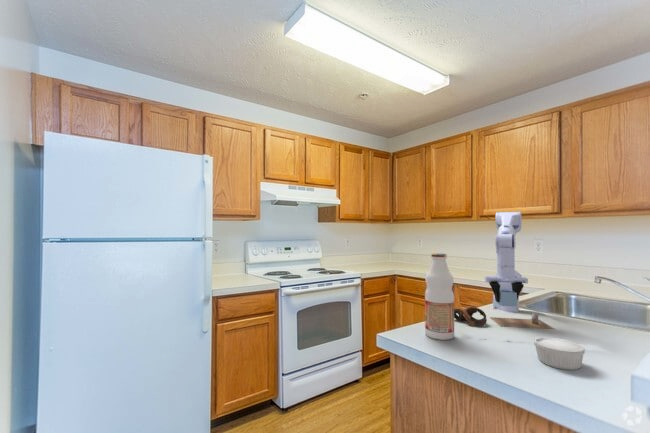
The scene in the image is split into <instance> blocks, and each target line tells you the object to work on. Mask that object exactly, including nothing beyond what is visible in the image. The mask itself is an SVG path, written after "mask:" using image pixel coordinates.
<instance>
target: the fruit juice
mask: <svg viewBox="0 0 650 433" xmlns="http://www.w3.org/2000/svg"><path fill="white" fill-rule="evenodd" d="M447 256H448V255H447V253H443V252H433V253H431V258H432V260H431V264H430V267H429V269H428V272H427V273H426V274H425V279H424V280H425V284H426V289H425V292H424V327H425V328H424V331H425V335H426V336H427V337H428V338H431V339H435V340H441V341H447V340H452V339H454V337H455V318H454V309H455V294H454V292H453V285H454V277H453V274H452V273H451V271H450V269H449V267H448V263H447Z"/></svg>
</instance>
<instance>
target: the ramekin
mask: <svg viewBox="0 0 650 433" xmlns="http://www.w3.org/2000/svg"><path fill="white" fill-rule="evenodd" d="M534 345H535V350H536V354H537V358H538V360H539V361H540V362H541V363H543V365H547V366H549V367H553V368H557V369H560V370H571V371H573V370H579V369H580V368H581V367H582V365H583V359H584V354H585V353H586V352H585V350H586V349H585V347H583V345H581V344H579V343H576V342H574V341H571V340H568V339H561V338H558V337H557V338H556V337H537V338H535V339H534Z"/></svg>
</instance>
